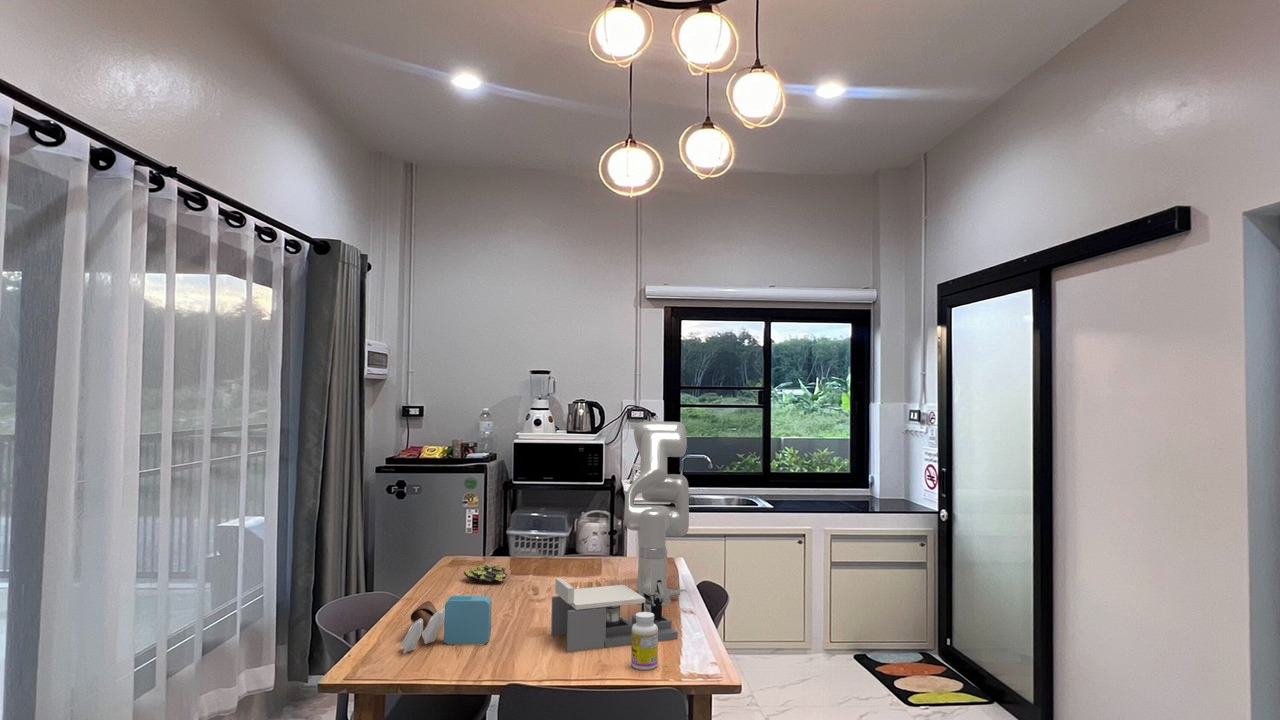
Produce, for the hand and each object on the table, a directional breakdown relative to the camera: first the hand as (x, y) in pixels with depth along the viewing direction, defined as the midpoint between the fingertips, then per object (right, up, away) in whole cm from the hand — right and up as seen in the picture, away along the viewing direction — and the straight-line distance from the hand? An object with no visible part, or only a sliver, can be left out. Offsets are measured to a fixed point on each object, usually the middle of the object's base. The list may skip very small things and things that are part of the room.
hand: (651, 615), depth 214 cm
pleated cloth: (-60, -9, +62) cm, 87 cm away
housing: (-11, -4, -5) cm, 12 cm away
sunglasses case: (-64, -3, -3) cm, 64 cm away
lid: (-15, +7, -6) cm, 17 cm away
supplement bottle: (-2, -4, -27) cm, 28 cm away
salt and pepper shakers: (-63, -2, -15) cm, 65 cm away
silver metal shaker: (0, -3, 0) cm, 3 cm away
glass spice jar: (-11, -2, -5) cm, 12 cm away
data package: (-50, -4, -11) cm, 52 cm away
